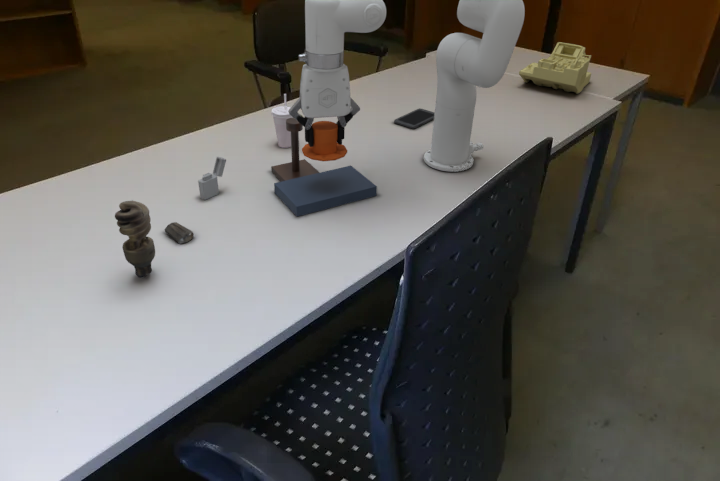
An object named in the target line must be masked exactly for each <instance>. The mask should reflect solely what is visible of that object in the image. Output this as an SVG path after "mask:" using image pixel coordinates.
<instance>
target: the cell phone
mask: <svg viewBox="0 0 720 481" xmlns="http://www.w3.org/2000/svg"><path fill="white" fill-rule="evenodd" d="M434 114H435V111H430V110H428V109H425V108H421V107H420V108H419V107H418V108H417V109H414V110H412V111H410V112H408V113H406V114H404V115H402V116H400V117H397V118H395V119H394V120H393V121H394V124H395V125H396V124H397V125H400V126H403V127H406V128H409V129H412V130H413V129H417V128H419V127H422V126H423V125H425V124H427V123H429V122H431V121H434Z"/></svg>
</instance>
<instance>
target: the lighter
mask: <svg viewBox="0 0 720 481" xmlns="http://www.w3.org/2000/svg"><path fill="white" fill-rule="evenodd" d="M226 164H227V159H226V158H225V157H222V156H216V157H215V162H214V166H213V170H212V173H211V172H207V173H204V174H202V178H200V179H198V180H197V183H198V190H199V191H198V192H199V198H200V199H202V200H204V201H206V200H209V199H211V198H213V197H216V196H217V195H219V194H220V190H219V181H218V177H220V178H222V177H223V174H224V170H225V166H226Z"/></svg>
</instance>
